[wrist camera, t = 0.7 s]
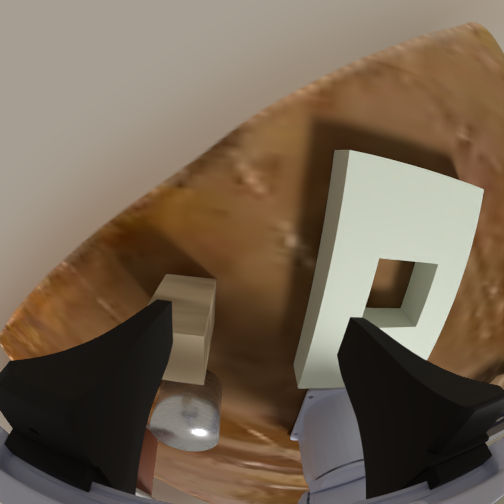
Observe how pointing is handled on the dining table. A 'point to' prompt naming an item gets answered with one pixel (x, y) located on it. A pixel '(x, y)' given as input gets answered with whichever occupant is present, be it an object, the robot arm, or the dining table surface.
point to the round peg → (188, 414)
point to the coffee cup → (147, 465)
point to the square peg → (189, 325)
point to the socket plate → (385, 257)
